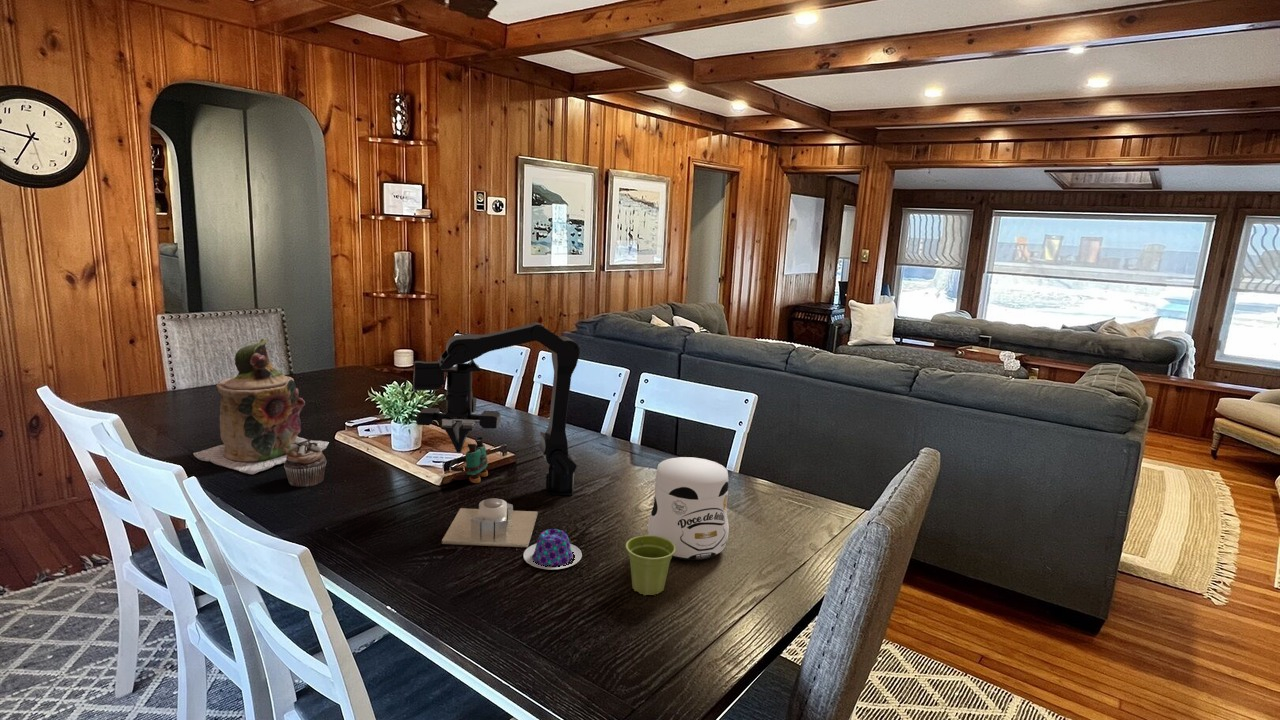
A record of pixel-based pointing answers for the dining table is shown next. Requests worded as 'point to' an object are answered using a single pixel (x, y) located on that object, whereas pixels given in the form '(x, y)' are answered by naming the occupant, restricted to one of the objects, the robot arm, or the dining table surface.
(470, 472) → the binoculars
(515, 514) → the wooden board
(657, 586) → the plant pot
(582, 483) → the dining table surface
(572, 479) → the robot arm
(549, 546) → the pudding
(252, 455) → the cookie jar
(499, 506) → the cap
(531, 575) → the dining table surface
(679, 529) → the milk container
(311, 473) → the cupcake
